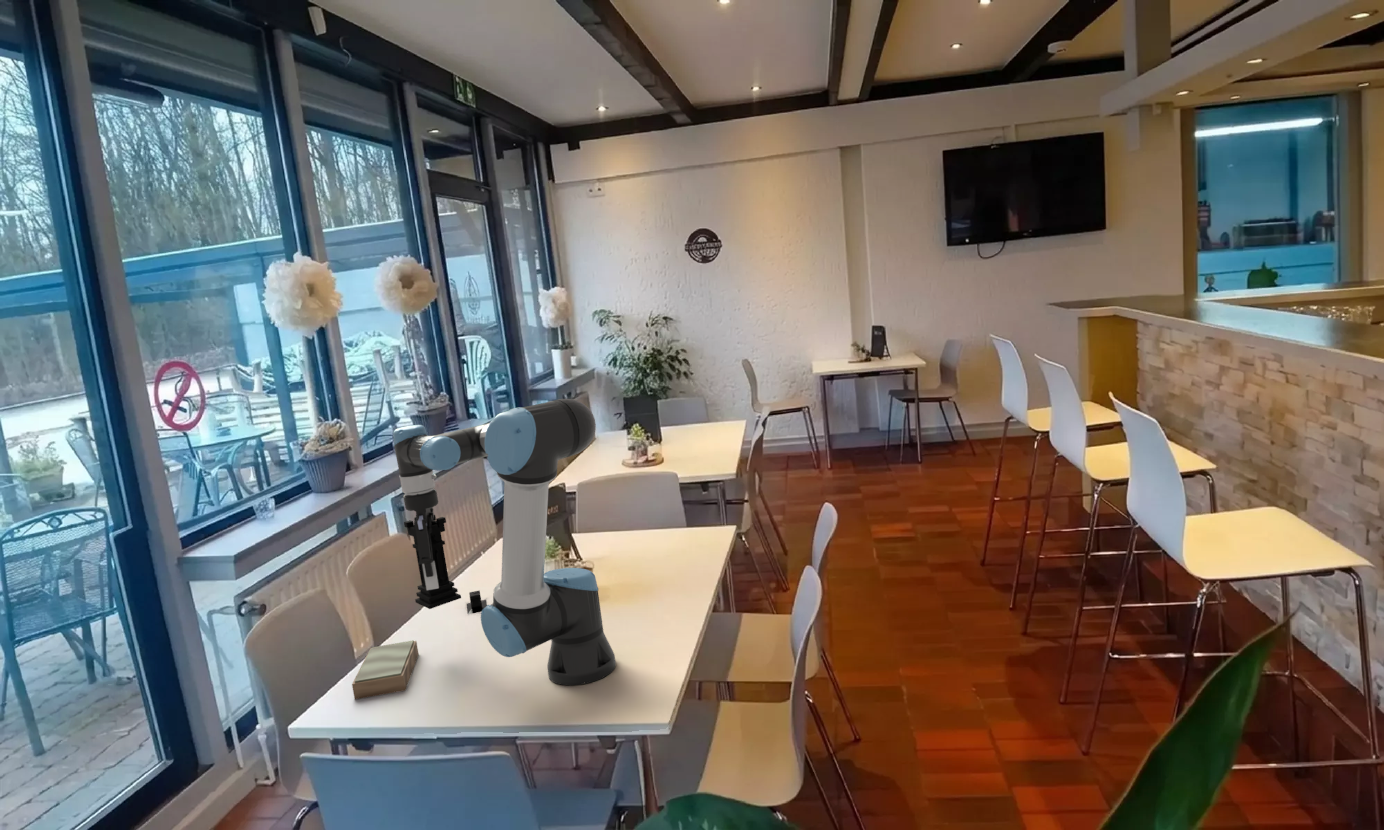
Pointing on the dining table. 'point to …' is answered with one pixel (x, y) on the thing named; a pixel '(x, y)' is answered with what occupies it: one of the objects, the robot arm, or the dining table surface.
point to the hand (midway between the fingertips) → (435, 582)
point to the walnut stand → (386, 669)
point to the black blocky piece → (475, 603)
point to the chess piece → (445, 586)
